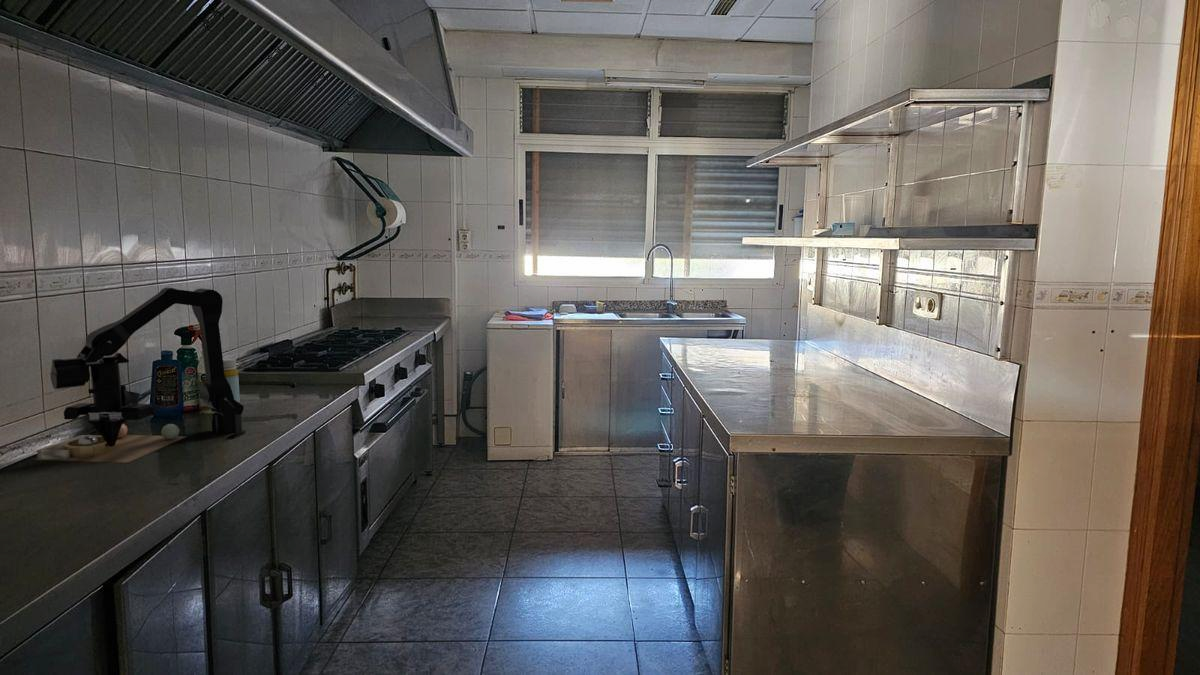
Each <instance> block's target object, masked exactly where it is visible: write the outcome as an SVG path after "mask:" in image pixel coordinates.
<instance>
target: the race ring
mask: <svg viewBox="0 0 1200 675" xmlns="http://www.w3.org/2000/svg"><path fill="white" fill-rule="evenodd" d="M94 436H95V437H96V438H97V440H98V444H96V445H90V446H78V442H79V440H80V438H79V439H74V440H71V441H68V442H65V443H64V444H63V450H69V457H73V458H81V457H91V456H97V455H101V454H106V453H108V452H111V451H113V450H114V449H115V446H113V447H110V446H109V445H108V444H107V442H106V441H105V440H104V438H103V437H102V436H101V435H94Z"/></svg>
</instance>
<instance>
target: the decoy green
mask: <svg viewBox="0 0 1200 675" xmlns="http://www.w3.org/2000/svg"><path fill="white" fill-rule="evenodd" d="M160 434H161V436H163V437H164V438H165V439H168V440H171V439H174V438H176V437H177V436H179V434H180V428H179V426H177V425H176V424H173V423H168V424H166V425H164V426H163V427H162V429H161V432H160Z"/></svg>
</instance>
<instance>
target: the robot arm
mask: <svg viewBox="0 0 1200 675" xmlns="http://www.w3.org/2000/svg"><path fill="white" fill-rule="evenodd" d="M174 305H183V306H184V305H185V306H191V310H192V313H193V315H194V316H195V319H196V321H197V322H198V325H199V332H200V341H201V347H202V348H201V349H202V357H203V365H204V372H205V373H204V374H205V378H204V380H203V383H198V384H197V385H198V390H199V397H198V398H199V399H201V400H202V403H203V405H206V407H209V409H210V411H211V412H212V415H211V416H212V418H211V423H210V424H211V432H212V433H213V434H217V435H229V436H227V437H225V439H235V438H237V437H239V436H241V435H244V434H245V433H246V430H243V421H242V414H243V412H244V408H245V407H244V405H243V404H241V402H240V403H238V402H237V401H236V400H234V396H233V393H232V389H231V386H230V384H229V383H228V381H227V379H226V377H225V373H224V364H223V358H224V357H223V348H222V340H221V333H220V319H221V316H222V312H223V296H222V295H221V293H219V292H218V291H217V290H214V289H211V288H210V289H209V288H198V289H195V290H194V291H191V290H183V289H178V288H175V287H174V288H173V287H164V288H162V289H161V290H160V291H159V292H158V293H156V294H155V295H153V296H152V297H151V298H149V299H148V300H146V301H145V302H144V303H142V304H141V305H139V306H138V307H136V308H134V309H133V310H132V311H130V312H128V313H127V314H126V315H125V316H123V317H122V318H120V319H118V320H117V321H114V322H111V323H109V324H105V325H104V326H102V327H99V328H96V329H94V330H93V331H91V332H90V333H88V334H87V336H86V338H85V345H84V347H83V348H81V351H80V352H79V353H78V354H77V355H76V357H75V358H74V357H73V358H65V359H63V358H55V359H52V360H51V364H52V365H51V368H50V371H51V372H50V373H49V374H50V380H51V381H50V382H51V385H52V388H53V389H54V390H59V389H68V388H75V387H83V386H85V385H86V383H89V381H91V388H88V390H87V391H88V395H89V394H92V400H93V402H91V403H90V402H88V403H87V402H82V403H81V402H80V403H76V404H73V405H71V406H66V407H65V409H64V411H63V419H64V420H76V419H78V418H79V417H80V416H89V420H87V423H88V424H91V425H92V427H94V429H95V430H96V431H97V432H98V433H99V435H100V436H102V437H103V438H104V440H105V441H106V442H107V444H108V445H109V446H110V447H113V446H115V444H116V440H117V437H118V434H119V431H120V428H121V426H122V424H124V422H125V421H138V420H142V419H145V418H147V417H151V416H153V415H154V414H155V413H154V407H153V405H152V404H151V403H140V402H139V401H140V392H135V391H130V390H127V386H126V385H125V384H122V383H121V371H120V364H125V363H129V362H130V360H129V358H128V359H127V358H126V357H125V356H123V354H121V353H120V352H119V351H120V349H121V348H122V347H123V346H124V345H125V344H126V343H127V342H128V340H129V339H130V338H131V336H133V335H134V333H136V332H137V331H139V329H141V328H143V327H144V326H145V325H147V324H148V323H150V322H151V321H152V320H154V319H155V318H157V317H158V316H159V315H161V314H162V313H164V312H165V311H166V310H168V309H170V308H171V307H172V306H174ZM90 379H91V380H90Z"/></svg>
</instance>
